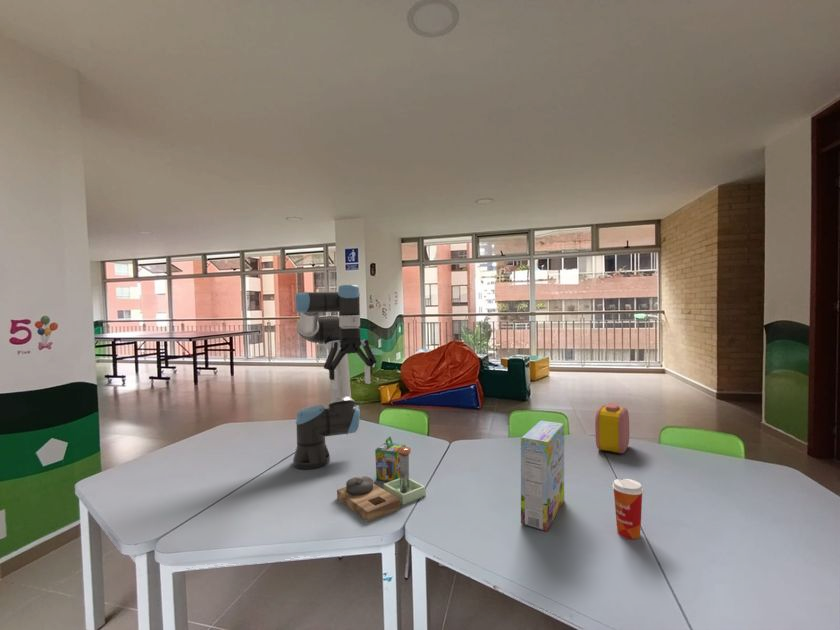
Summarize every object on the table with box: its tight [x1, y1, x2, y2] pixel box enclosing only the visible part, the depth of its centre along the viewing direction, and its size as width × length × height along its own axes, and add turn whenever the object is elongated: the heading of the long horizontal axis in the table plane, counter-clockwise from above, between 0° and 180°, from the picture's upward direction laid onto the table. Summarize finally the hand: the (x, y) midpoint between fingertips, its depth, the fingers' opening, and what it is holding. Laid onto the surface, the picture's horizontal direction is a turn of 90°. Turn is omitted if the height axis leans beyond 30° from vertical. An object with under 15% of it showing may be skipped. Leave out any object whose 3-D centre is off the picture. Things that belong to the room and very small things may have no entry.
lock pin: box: [398, 446, 411, 494], centre depth 136 cm, size 4×4×15 cm
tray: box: [383, 477, 427, 505], centre depth 136 cm, size 12×10×3 cm
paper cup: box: [612, 478, 645, 540], centre depth 109 cm, size 8×8×14 cm
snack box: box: [520, 420, 565, 532], centre depth 122 cm, size 22×9×26 cm, turn 148°
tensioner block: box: [336, 475, 401, 523], centre depth 130 cm, size 20×12×7 cm, turn 39°
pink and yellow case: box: [594, 402, 630, 455], centre depth 174 cm, size 18×11×19 cm, turn 144°
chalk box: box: [374, 436, 407, 482], centre depth 151 cm, size 9×9×15 cm
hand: (351, 386), depth 143 cm, fingers open, 13 cm apart
